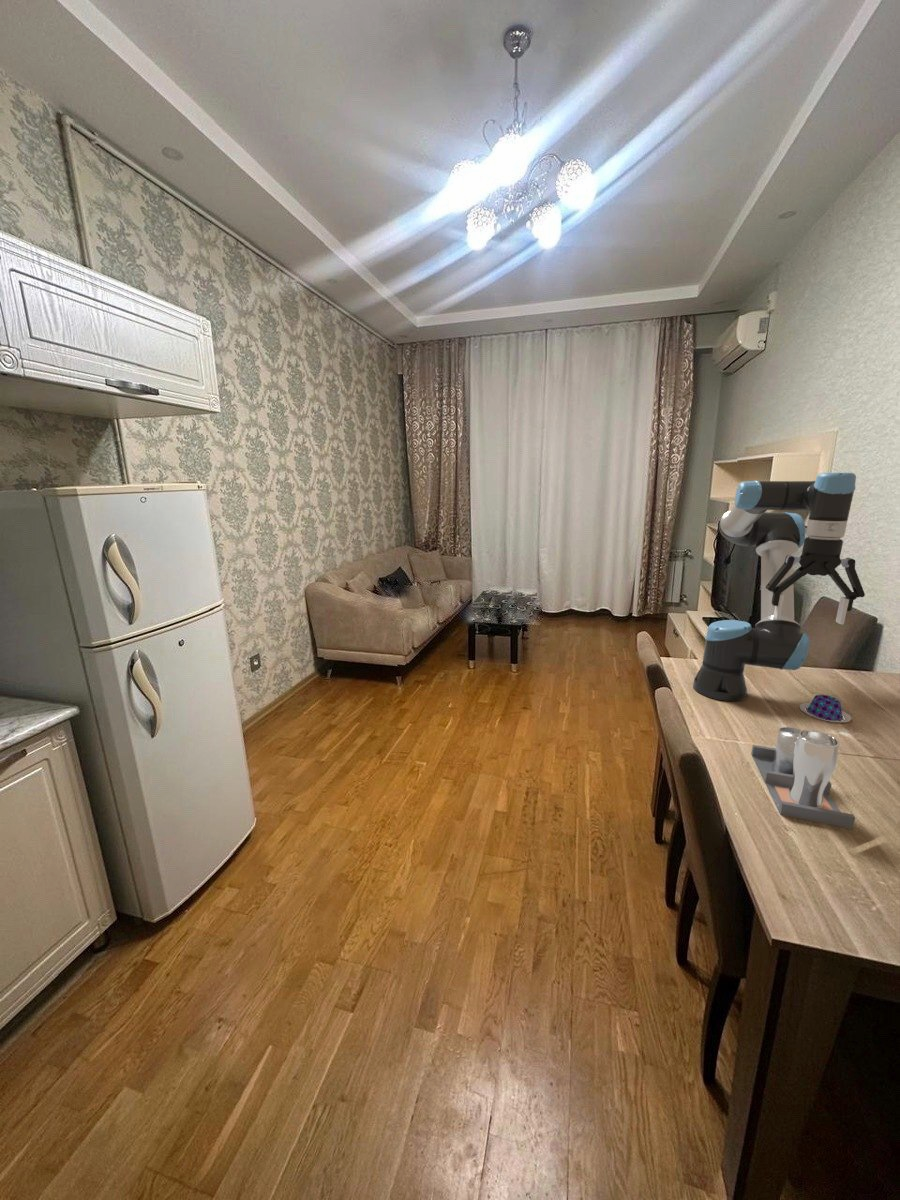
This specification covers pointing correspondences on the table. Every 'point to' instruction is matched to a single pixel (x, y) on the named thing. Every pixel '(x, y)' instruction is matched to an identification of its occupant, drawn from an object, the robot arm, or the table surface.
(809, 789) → the beer glass
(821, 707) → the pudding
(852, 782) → the table surface
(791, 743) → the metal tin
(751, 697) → the table surface
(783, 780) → the slot rack
